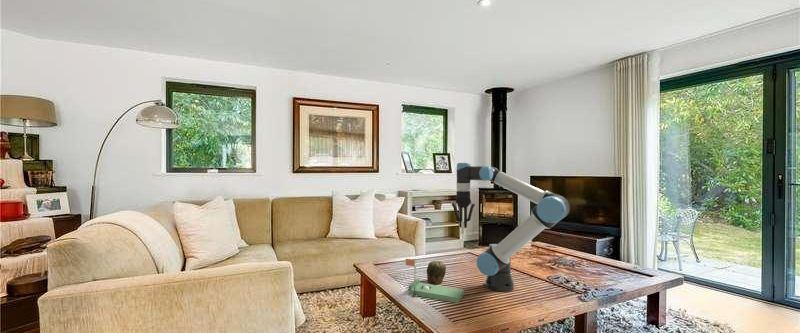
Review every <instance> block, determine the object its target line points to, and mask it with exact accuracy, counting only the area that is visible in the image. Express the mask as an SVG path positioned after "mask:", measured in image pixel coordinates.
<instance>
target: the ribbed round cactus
mask: <svg viewBox="0 0 800 333" xmlns="http://www.w3.org/2000/svg"><path fill="white" fill-rule="evenodd" d="M446 273H447V266H446V265H445V263H444V262H443V261H442V260H437V261H436V260H433V261H429V263H428V264H427V268H426V279H427V284H430V285H440V284H442V283H443V281H444V277H445V275H446Z"/></svg>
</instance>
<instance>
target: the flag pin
mask: <svg viewBox="0 0 800 333" xmlns="http://www.w3.org/2000/svg"><path fill="white" fill-rule="evenodd" d="M416 261H417V260H416V259H410V258H405V266H407V267H408V266H410V267H413V270H414V271H413V273H414V274H413V276H414V277H413V282H414V294H413V295H411V296H412V298H417V297H418V296H417V295H416V294H415V284H416V279H417V278H416V277H417V275H416V273H417V272H416V268H417V267H416V266H417V264H416V263H417V262H416Z"/></svg>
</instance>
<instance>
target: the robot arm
mask: <svg viewBox="0 0 800 333" xmlns="http://www.w3.org/2000/svg"><path fill="white" fill-rule="evenodd" d="M471 181H484V182H485V181H487V182H488V181H489V182H492V183H493V184H495V185H498V186H500V187H501V188H504V189H506V190H507V191H510V192H512V193H514V194H516V195H517V196H519V197H522V198H523V199H526V200H527V201H530V202H532V203H534V204H536V206H534V208H532V209H531V211H530V212H531V214H530V215H529V216H528V217H527V218H526V219H524V221H523V222H521V223H520V224H519V225H518V226H516V227H515V228H514V230H512V231H511V232H510V233H509V234H508V235H507V236H505V238H504V239H502V240H501V241H499V242H498V243H490V244H489V245H488V248H487V249H486V250H485V251H483V252H481V253H479V255H478V256H477V258H476V267H477V269H478V270H479V271H480V273H481V274H482V275H484V276H486V277H485V284H484V285H485V287H486V288H487V289H489V290H493V291H495V292H496V291H497V292H511V291H513V290H514V289H515V284H514V280H513V278H512V274H511V272H512V271H511V269H512V268H511V260H512V259H511V258H512V257H513V256H514V255H515V254H516V253H517V252H519V251H520V250H521V249H522V248H524V247H525V246H526V245H527V244H528V243H529V242H531V241H532V240H533V239H534V238H535V237H537V236H538V235H539V234H540V233H541V232H543V231H544V230H545V229H546V230H547V229H548V230H550V229H552V228H553V227H554V226H555V225H556V224H558V222H560V221H562V220H563V219H564V218H566V217H567V216H568V215H569V214H570V211H571V205H570V202H569V201H568V199H567V198H565V197H564V196H562V195H560V194H557V193H554V192H551V191H550V190H542V189H540V188H539V187H535V186H533V185H531V184H530V183H527V182H525V181H522V180H521V179H518V178H517V177H514V176H512V175H510V174H507V173H505V172H503V171H501V170H499V169H498V168H497V167H494V166H490V165H489V166H487V165H483V166H482V165H481V166H477V165H475V166H471V163H470V162H458V163H457V164H456V190H457V191H456V192H455V193H456V194H455V195H456V199H455V201H454V202H452V203H451V206H452V207H453V212H454V216H455V219H456V221H457V222H459V229H460V230H461V231H460V234H461V235H465V234H466V228H468V222H470V221H471V220H472V214H473V211H474V208H475V206H476V203H474V202H472V200H471ZM457 206H458V207H457ZM468 208H469V212H468ZM458 209H459V212H458Z"/></svg>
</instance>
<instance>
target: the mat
mask: <svg viewBox="0 0 800 333" xmlns="http://www.w3.org/2000/svg"><path fill="white" fill-rule="evenodd" d="M424 286H428V287H429V289H430V290H423V287H424ZM413 294H414V281H413V282H411V283H410V284H408V295H411V296H412V295H413ZM415 294H416V295H417V297H422V298H428V299H434V300H440V301H445V302H452V303H459V302H460V301H461V300H462V298H463V297H464V295H465V289H461V288H454V287H449V286H443V285H438V284H431V283H424V282H423V283H422V282H420V278H416V284H415Z"/></svg>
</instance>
